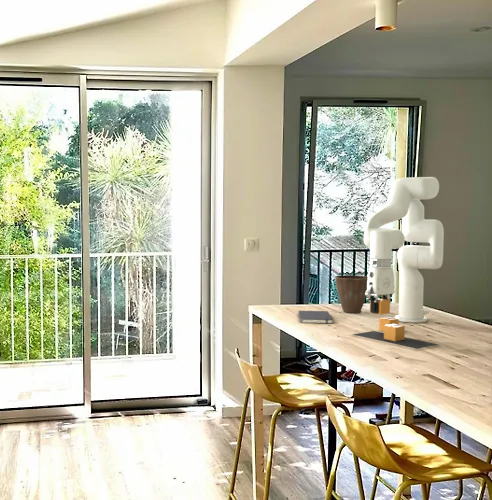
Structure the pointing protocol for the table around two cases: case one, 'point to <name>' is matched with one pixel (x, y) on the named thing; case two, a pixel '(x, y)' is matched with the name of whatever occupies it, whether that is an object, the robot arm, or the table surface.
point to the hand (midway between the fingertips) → (379, 311)
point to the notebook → (315, 317)
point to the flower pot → (351, 292)
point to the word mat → (406, 342)
